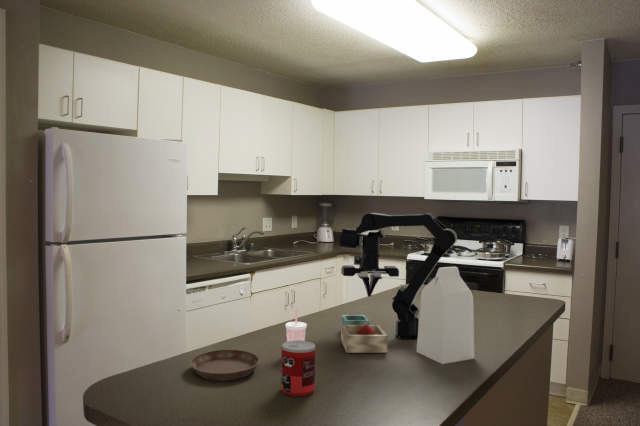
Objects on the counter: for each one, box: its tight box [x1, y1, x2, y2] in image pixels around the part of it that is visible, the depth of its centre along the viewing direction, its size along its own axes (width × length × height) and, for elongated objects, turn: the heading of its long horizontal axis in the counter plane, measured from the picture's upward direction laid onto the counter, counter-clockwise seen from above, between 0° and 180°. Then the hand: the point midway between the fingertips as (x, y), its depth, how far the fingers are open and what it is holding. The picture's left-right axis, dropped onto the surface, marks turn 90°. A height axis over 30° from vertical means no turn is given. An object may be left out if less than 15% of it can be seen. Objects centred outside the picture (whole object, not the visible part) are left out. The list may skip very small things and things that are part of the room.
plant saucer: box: [190, 349, 260, 382], centre depth 135 cm, size 18×18×3 cm
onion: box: [356, 323, 375, 335], centre depth 156 cm, size 6×6×8 cm
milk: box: [415, 266, 475, 365], centre depth 152 cm, size 12×12×26 cm
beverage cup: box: [284, 306, 308, 342], centre depth 149 cm, size 6×6×14 cm
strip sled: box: [340, 314, 388, 354], centre depth 165 cm, size 12×25×5 cm, turn 6°
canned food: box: [280, 340, 317, 397], centre depth 123 cm, size 8×8×11 cm
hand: (369, 296), depth 175 cm, fingers closed
